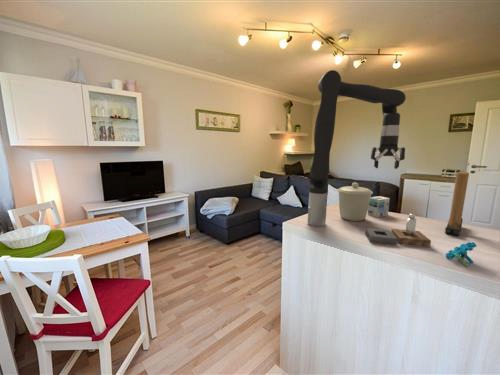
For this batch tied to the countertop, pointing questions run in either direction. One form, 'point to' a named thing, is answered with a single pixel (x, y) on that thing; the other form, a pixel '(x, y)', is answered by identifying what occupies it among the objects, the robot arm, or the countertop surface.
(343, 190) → the canister
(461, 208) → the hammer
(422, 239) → the rack block
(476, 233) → the countertop surface
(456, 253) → the blue pixel flower
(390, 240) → the socket block
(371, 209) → the light bulb box
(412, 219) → the steel pin
